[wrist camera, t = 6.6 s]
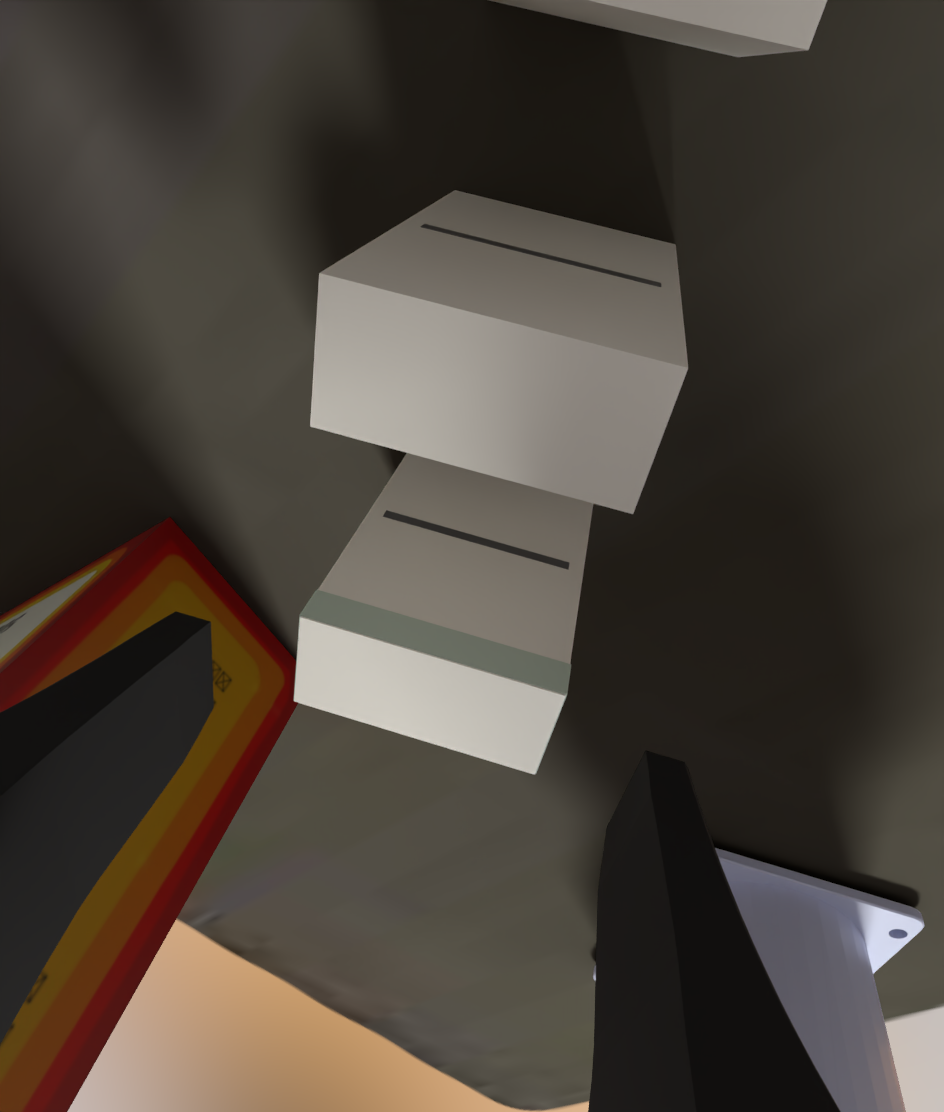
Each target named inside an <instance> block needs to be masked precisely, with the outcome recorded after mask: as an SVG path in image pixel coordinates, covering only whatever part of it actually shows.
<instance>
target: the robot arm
mask: <svg viewBox="0 0 944 1112" xmlns="http://www.w3.org/2000/svg"><path fill="white" fill-rule="evenodd" d="M213 708H214V699H213V669H212V639H211V622H210V621H207V620H204V619H200V618H197V617H194V616H190V615H187V614H183V613H180V612H177V611H176V612H174V613H172V614H170V615H168V616H167V617H165V618H163V619H162V620H160V621H158V622H156V623H155V624H153V625H151V626H150V627H148V628H146V629H145V630H143V631H142V632H140V633H138V634H137V635H135V636H133V637H132V638H130V639H128V640H127V641H125V642H123V643H122V644H120V645H118V646H117V647H115V648H113V649H112V650H110V651H109V652H107V653H105V654H104V655H102V656H100V657H99V658H97V659H95V660H94V661H92V662H90V663H88V664H87V665H85V666H83V667H81V668H80V669H78V670H76V671H75V672H73V673H71V674H69V675H68V676H66V677H64V678H62V679H61V680H59V681H57V682H55V683H54V684H52V685H50V686H49V687H47V688H45V689H43V690H41V691H40V692H38V693H36V694H34V695H32V696H31V697H29V698H27V699H25V700H23V701H21V702H19V703H17V704H15V705H13V706H12V707H10V708H8V709H6V710H4V711H2V712H0V1044H1V1042H2V1041H3V1039H4V1037H5V1035H6V1033H7V1032H8V1030H9V1028H10V1026H11V1024H12V1023H13V1021H14V1019H15V1017H16V1016H17V1014H18V1012H19V1010H20V1009H21V1007H22V1005H23V1003H24V1002H25V1000H26V998H27V996H28V995H29V993H30V991H31V989H32V988H33V986H34V984H35V982H36V981H37V979H38V977H39V975H40V974H41V972H42V970H43V968H44V967H45V965H46V963H47V962H48V960H49V958H50V957H51V955H52V953H53V951H54V950H55V948H56V946H57V945H58V943H59V941H60V940H61V938H62V936H63V935H64V933H65V931H66V930H67V928H68V926H69V925H70V923H71V921H72V920H73V918H74V916H75V915H76V913H77V911H78V910H79V908H80V907H81V905H82V904H83V902H84V901H85V899H86V898H87V896H88V895H89V893H90V892H91V890H92V889H93V887H94V886H95V884H96V883H97V881H98V880H99V878H100V877H101V876H102V874H103V873H104V872H105V870H106V869H107V867H108V866H109V865H110V863H111V862H112V861H113V859H114V858H115V856H116V855H117V854H118V852H119V851H120V850H121V848H122V847H123V845H124V844H125V843H126V841H127V840H128V839H129V837H130V836H131V834H132V833H133V832H134V830H135V829H136V828H137V826H138V825H139V823H140V822H141V821H142V819H143V818H144V817H145V815H146V814H147V812H148V811H149V810H150V808H151V807H152V806H153V804H154V803H155V801H156V800H157V799H158V797H159V796H160V794H161V793H162V792H163V790H164V789H165V788H166V786H167V785H168V783H169V782H170V781H171V779H172V778H173V776H174V775H175V774H176V772H177V771H178V769H179V768H180V766H181V765H182V764H183V762H184V760H185V759H186V757H187V755H188V753H189V752H190V750H191V748H192V746H193V745H194V743H195V741H196V739H197V738H198V736H199V734H200V732H201V730H202V728H203V726H204V725H205V723H206V721H207V719H208V717H209V715H210V713H211V712H212V710H213ZM923 927H924V921H923V918H922V915H921V913H920V912H919V911H918V910H917V909H915V908H913V907H911V906H908V905H904V904H901V903H898V902H894V901H891V900H888V899H884V898H881V897H878V896H874V895H871V894H868V893H864V892H861V891H858V890H854V889H851V888H848V887H844V886H841V885H838V884H834V883H831V882H828V881H824V880H821V879H818V878H814V877H811V876H808V875H805V874H801V873H798V872H795V871H791V870H788V869H785V868H781V867H778V866H775V865H771V864H768V863H765V862H761V861H758V860H755V859H751V858H748V857H745V856H741V855H738V854H735V853H731V852H728V851H725V850H721V849H718V848H715V847H714V844H713V841H712V838H711V836H710V833H709V830H708V827H707V825H706V822H705V819H704V816H703V813H702V810H701V807H700V804H699V801H698V798H697V795H696V792H695V789H694V785H693V782H692V779H691V776H690V773H689V770H688V768H687V766H686V764H685V762H682V761H679V760H676V759H672V758H669V757H666V756H662V755H659V754H655V753H652V752H649V751H645V753H644V755H643V757H642V759H641V761H640V763H639V765H638V767H637V769H636V771H635V773H634V775H633V777H632V779H631V781H630V783H629V785H628V786H627V788H626V790H625V792H624V794H623V796H622V798H621V800H620V802H619V804H618V806H617V808H616V810H615V812H614V814H613V816H612V818H611V820H610V822H609V824H608V826H607V830H606V837H605V844H604V851H603V858H602V865H601V873H600V880H599V888H598V908H597V944H596V965H595V967H594V974H593V978H594V980H595V981H596V987H595V1029H594V1054H593V1071H592V1083H591V1092H590V1101H589V1110H588V1112H906V1111H905V1107H904V1102H903V1098H902V1094H901V1090H900V1085H899V1081H898V1077H897V1073H896V1069H895V1065H894V1061H893V1056H892V1052H891V1048H890V1043H889V1039H888V1035H887V1031H886V1027H885V1022H884V1018H883V1014H882V1010H881V1005H880V1001H879V997H878V993H877V989H876V984H875V980H874V976H873V973H874V972H876V971H877V970H878V969H879V968H880V967H881V966H882V965H883V964H884V963H886V962H887V961H888V960H889V959H890V958H891V957H892V956H893V955H894V954H896V953H897V952H898V951H899V950H900V949H901V948H902V947H903V946H904V945H906V944H907V943H908V942H909V941H910V940H911V939H912V938H913V937H914V936H916V935H917V934H918V933H919V932H920V931H921V930H922V929H923Z"/></svg>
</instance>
